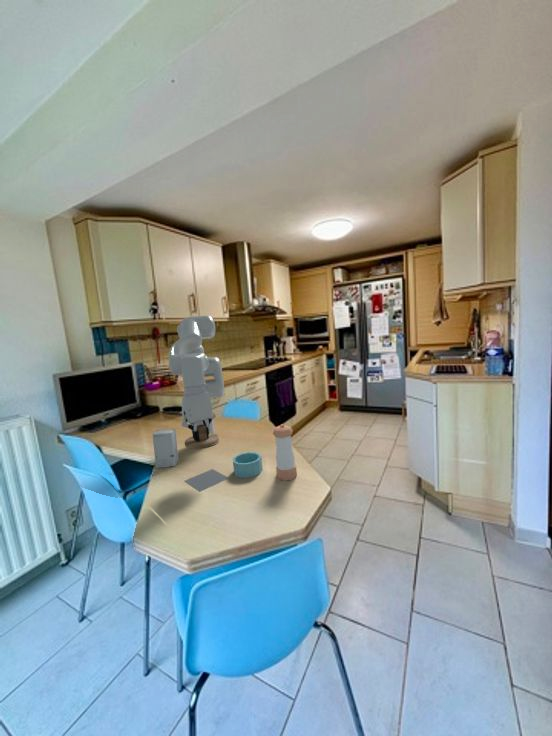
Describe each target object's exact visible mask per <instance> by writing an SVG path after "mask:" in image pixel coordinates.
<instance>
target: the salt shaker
mask: <svg viewBox="0 0 552 736" xmlns="http://www.w3.org/2000/svg"><path fill="white" fill-rule="evenodd" d="M272 431H273V432H272V434H273V436H274V437H275V444H276V445H275V446H276V452H275V453H276V454H275V460H276V467H275V470H276V471H275V472H276V477H277V478H278V480H281V481H289V480H290V479H291V480H293V479H295V478H296V477H297V474H298V473H297V472H298V471H297V465H296V462H295V453H294V451H293V450H294V449H293V444H292V438H291V437H292V435H293V428H292V427H291V426H289V425H286V424H283V423H282V424H280V425H278V426H276V427H275V428H274V429H273V430H272Z"/></svg>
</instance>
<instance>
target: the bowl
mask: <svg viewBox="0 0 552 736" xmlns="http://www.w3.org/2000/svg"><path fill="white" fill-rule="evenodd" d="M232 466H233V467H232V468H233V473H234V476H235V477H238V478H242V479H243V478H244V479H247V478H248V479H249V478H252V477H255V476H258V475H259V474H261V473H262V472H263V469H264V468H263V461H262V455H261V454H260V453H258V452H256V451H255V452H254V451H252V452H251V451H249V452H248V451H247V452H243V453H240V454H237V455H235V456H234V457H233V458H232Z"/></svg>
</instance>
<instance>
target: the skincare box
mask: <svg viewBox="0 0 552 736" xmlns="http://www.w3.org/2000/svg"><path fill="white" fill-rule="evenodd" d="M152 442H153V443H152V444H153V451H154V452H153V453H154V461H155V469H159V468H158V467H163V468H169V467H168V466H174V467H176V465H177V464H178V463H179V452H178V441H177V431H176V429H175V428H174V429H173V428H172V429H170V428H169V429H167V428H166V429H159V430H156V431H155V432H153V433H152ZM177 462H178V463H177Z"/></svg>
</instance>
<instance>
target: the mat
mask: <svg viewBox="0 0 552 736" xmlns="http://www.w3.org/2000/svg"><path fill="white" fill-rule="evenodd" d="M229 479H230V477H228V476H227V475H225V474H223V473H221V472H218V471H217V470H215V469H214V468H212V469H210V470H207V471H204V472H202V473H200V474H197V475H196V476H193V477H190V478H188V479H185V480H184V482H185V483H186V484H188V486H190V487H192V488H193V489H195V490H196V491H198V492H199V493H200V492H203V491H205V490H206V489H208V488H212V487H213V486H216V485H217V484H220V483H222V482H224V481H226V480H229Z"/></svg>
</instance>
